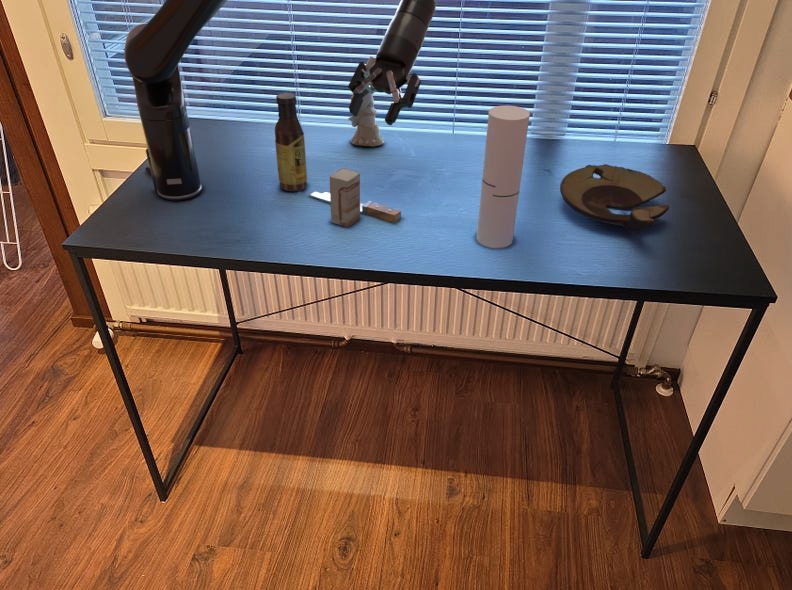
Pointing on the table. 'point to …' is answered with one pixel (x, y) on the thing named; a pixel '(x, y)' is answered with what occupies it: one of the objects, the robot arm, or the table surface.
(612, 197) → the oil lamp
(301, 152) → the sauce bottle
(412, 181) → the table surface
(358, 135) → the figurine
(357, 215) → the tan rectangular box
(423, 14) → the robot arm
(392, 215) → the knife
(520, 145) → the cylindrical container
